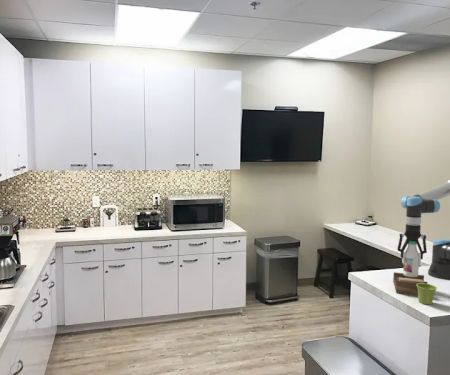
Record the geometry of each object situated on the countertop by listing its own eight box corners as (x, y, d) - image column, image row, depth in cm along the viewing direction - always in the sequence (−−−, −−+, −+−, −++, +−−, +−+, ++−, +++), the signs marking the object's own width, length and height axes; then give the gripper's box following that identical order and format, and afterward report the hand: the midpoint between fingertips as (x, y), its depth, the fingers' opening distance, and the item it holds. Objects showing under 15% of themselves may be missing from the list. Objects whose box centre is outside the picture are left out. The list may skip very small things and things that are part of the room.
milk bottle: (413, 273, 234) (415, 239, 232) (420, 277, 226) (422, 242, 224) (400, 273, 233) (402, 239, 231) (407, 277, 226) (408, 242, 224)
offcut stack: (397, 290, 225) (398, 277, 224) (423, 293, 221) (424, 280, 220) (398, 293, 221) (399, 279, 220) (424, 295, 217) (425, 282, 217)
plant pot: (419, 297, 214) (420, 281, 213) (438, 303, 207) (439, 286, 206) (412, 302, 208) (413, 285, 207) (431, 307, 201) (432, 290, 200)
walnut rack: (393, 282, 239) (393, 270, 238) (423, 285, 234) (423, 273, 233) (396, 293, 220) (396, 281, 219) (428, 297, 215) (429, 284, 214)
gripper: (394, 224, 226) (392, 264, 229) (434, 226, 220) (432, 267, 222) (392, 221, 233) (391, 260, 236) (432, 224, 227) (430, 264, 229)
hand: (411, 264), depth 229 cm, fingers closed on milk bottle, 7 cm apart
